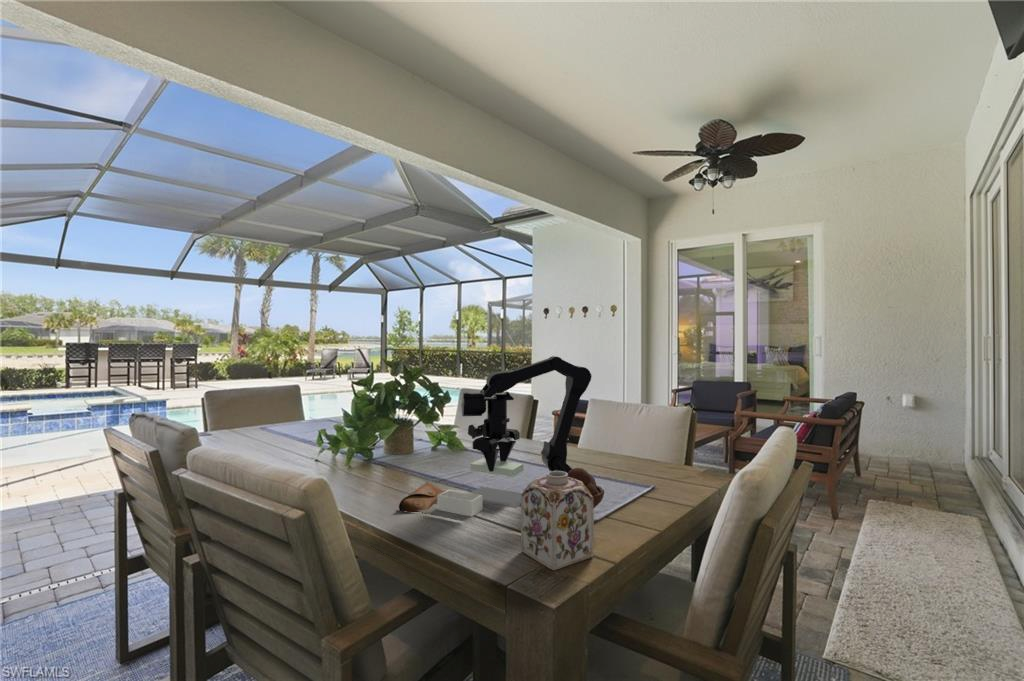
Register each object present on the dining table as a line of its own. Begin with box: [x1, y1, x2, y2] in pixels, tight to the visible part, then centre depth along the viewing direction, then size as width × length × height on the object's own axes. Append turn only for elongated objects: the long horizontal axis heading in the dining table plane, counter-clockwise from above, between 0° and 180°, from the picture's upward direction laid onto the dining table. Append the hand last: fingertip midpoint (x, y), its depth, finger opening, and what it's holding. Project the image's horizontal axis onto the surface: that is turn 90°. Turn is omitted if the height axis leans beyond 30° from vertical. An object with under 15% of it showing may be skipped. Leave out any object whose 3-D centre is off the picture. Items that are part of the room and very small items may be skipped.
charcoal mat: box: [469, 486, 522, 509], centre depth 144 cm, size 18×12×1 cm, turn 63°
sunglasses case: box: [398, 481, 445, 514], centre depth 141 cm, size 18×7×7 cm
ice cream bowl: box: [567, 467, 605, 510], centre depth 122 cm, size 11×11×15 cm
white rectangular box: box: [436, 489, 484, 517], centre depth 133 cm, size 11×6×4 cm, turn 63°
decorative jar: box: [520, 471, 595, 571], centre depth 107 cm, size 12×12×18 cm
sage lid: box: [470, 457, 524, 477], centre depth 143 cm, size 14×7×2 cm, turn 63°
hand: (497, 468), depth 143 cm, fingers closed on sage lid, 7 cm apart
